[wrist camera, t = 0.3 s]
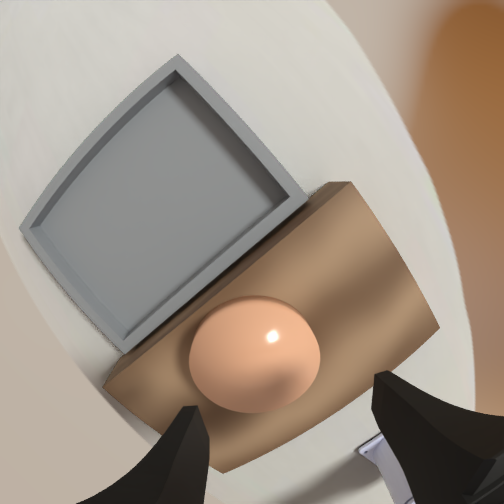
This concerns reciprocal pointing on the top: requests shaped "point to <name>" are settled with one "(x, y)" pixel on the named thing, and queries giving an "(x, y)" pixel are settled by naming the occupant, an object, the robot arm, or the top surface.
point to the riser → (314, 311)
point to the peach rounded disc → (254, 354)
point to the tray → (157, 204)
